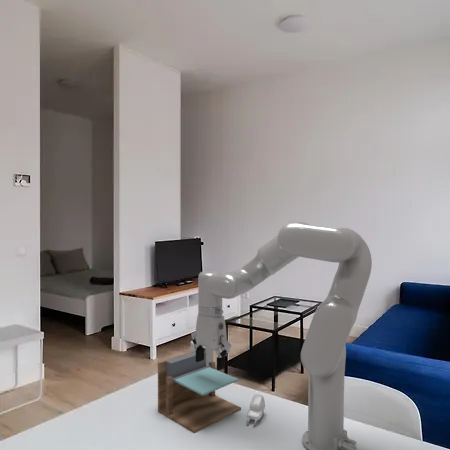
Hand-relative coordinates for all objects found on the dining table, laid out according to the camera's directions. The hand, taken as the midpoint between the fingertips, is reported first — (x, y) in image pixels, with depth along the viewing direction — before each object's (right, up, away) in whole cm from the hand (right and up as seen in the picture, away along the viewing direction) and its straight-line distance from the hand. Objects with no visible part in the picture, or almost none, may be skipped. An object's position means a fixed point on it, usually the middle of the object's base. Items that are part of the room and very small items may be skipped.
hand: (210, 365), depth 126 cm
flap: (-3, -6, +3) cm, 8 cm away
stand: (-4, -16, +4) cm, 17 cm away
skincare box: (-4, -16, +25) cm, 30 cm away
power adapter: (+15, -17, -1) cm, 22 cm away
